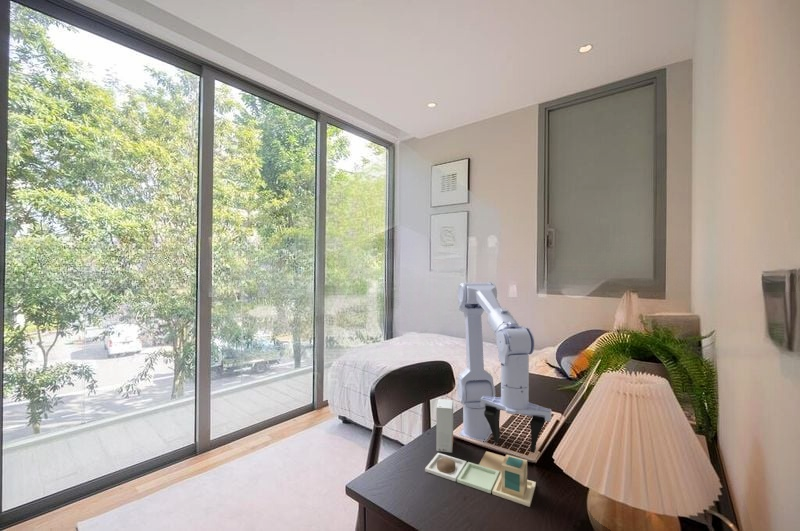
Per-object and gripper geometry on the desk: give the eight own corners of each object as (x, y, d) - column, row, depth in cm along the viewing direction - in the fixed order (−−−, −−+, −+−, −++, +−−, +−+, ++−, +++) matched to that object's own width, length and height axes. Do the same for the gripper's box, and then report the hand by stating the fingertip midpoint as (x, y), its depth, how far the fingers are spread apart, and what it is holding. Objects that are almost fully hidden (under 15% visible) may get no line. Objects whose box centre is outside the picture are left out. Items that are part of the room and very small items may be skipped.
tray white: (438, 457, 89) (438, 452, 89) (466, 466, 85) (466, 461, 85) (425, 473, 82) (425, 468, 82) (455, 483, 78) (455, 478, 78)
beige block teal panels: (506, 480, 78) (506, 453, 78) (527, 486, 76) (527, 459, 76) (501, 492, 74) (501, 464, 74) (523, 499, 72) (523, 470, 72)
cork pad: (486, 453, 90) (486, 451, 90) (513, 461, 87) (513, 458, 87) (478, 467, 84) (478, 465, 84) (507, 476, 81) (507, 474, 81)
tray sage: (468, 466, 85) (468, 461, 85) (499, 476, 81) (499, 471, 81) (456, 484, 78) (457, 479, 78) (490, 495, 74) (490, 490, 74)
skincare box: (452, 454, 90) (452, 408, 90) (436, 452, 91) (435, 407, 90) (453, 442, 96) (453, 399, 95) (438, 440, 97) (438, 398, 96)
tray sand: (501, 476, 81) (501, 471, 81) (535, 487, 77) (535, 482, 77) (492, 496, 74) (492, 490, 74) (529, 509, 70) (529, 503, 70)
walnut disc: (441, 460, 86) (441, 456, 86) (458, 465, 84) (458, 461, 84) (434, 469, 83) (434, 465, 83) (451, 475, 80) (451, 471, 80)
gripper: (476, 383, 75) (476, 445, 75) (548, 396, 68) (548, 465, 68) (485, 373, 81) (485, 431, 81) (552, 385, 74) (552, 447, 74)
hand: (514, 445), depth 75 cm, fingers open, 7 cm apart
